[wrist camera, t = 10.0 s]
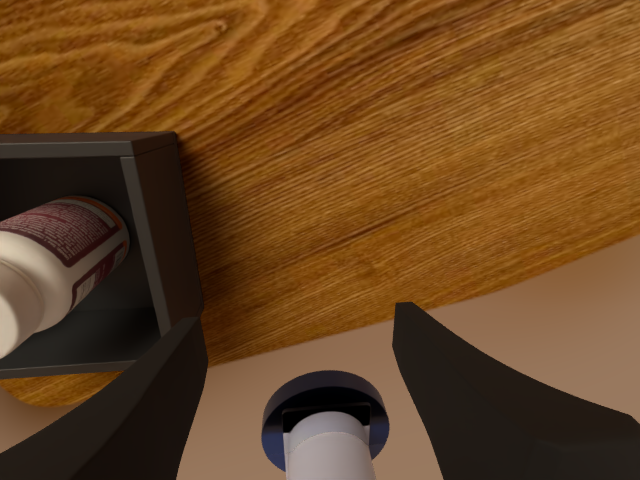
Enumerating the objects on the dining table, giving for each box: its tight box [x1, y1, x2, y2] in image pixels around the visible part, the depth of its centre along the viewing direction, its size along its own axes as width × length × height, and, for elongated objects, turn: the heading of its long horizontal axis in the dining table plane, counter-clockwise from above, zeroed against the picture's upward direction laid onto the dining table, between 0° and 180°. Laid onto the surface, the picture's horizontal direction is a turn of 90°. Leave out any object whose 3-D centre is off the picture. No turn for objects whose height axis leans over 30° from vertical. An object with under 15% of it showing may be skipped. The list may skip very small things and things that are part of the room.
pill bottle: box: [0, 195, 130, 359], centre depth 15 cm, size 5×5×8 cm
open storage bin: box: [0, 131, 204, 379], centre depth 17 cm, size 11×11×6 cm
